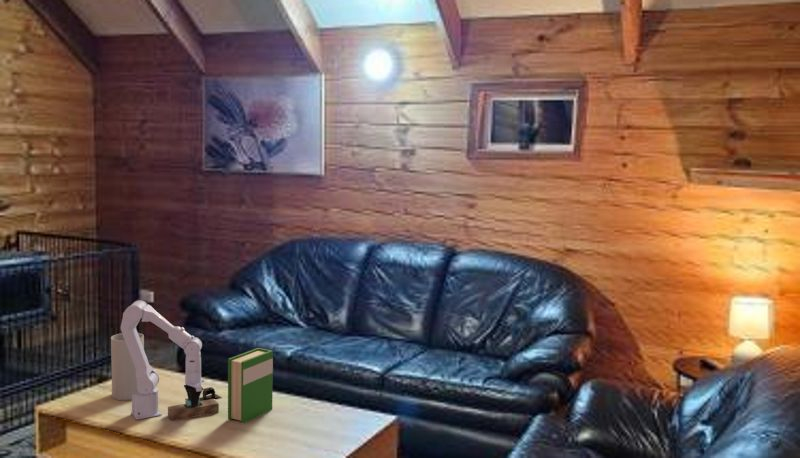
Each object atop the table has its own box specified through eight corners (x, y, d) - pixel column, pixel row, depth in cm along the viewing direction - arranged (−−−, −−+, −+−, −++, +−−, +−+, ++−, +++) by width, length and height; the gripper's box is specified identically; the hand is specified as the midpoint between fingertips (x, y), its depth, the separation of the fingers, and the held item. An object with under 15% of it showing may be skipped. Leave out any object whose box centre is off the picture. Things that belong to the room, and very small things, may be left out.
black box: (198, 405, 288) (198, 394, 288) (190, 400, 294) (190, 389, 293) (226, 398, 296) (226, 388, 296) (218, 393, 302) (218, 383, 301)
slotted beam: (172, 420, 271) (172, 411, 270) (167, 415, 276) (167, 406, 275) (218, 412, 280) (218, 403, 280) (213, 407, 285) (213, 398, 285)
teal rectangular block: (187, 415, 276) (187, 400, 275) (185, 413, 278) (185, 398, 277) (200, 412, 278) (199, 398, 277) (198, 410, 280) (197, 396, 279)
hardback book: (242, 423, 270) (243, 362, 267) (227, 419, 273) (228, 358, 270) (272, 409, 285) (272, 350, 282) (257, 405, 289) (258, 347, 286)
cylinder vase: (111, 392, 298) (110, 334, 295) (142, 388, 303) (142, 331, 300) (112, 402, 287) (111, 342, 284) (145, 398, 292) (145, 339, 289)
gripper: (209, 373, 272) (209, 408, 274) (197, 363, 284) (197, 396, 286) (191, 376, 268) (191, 411, 270) (179, 365, 280) (180, 399, 282)
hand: (193, 403), depth 277 cm, fingers closed on teal rectangular block, 2 cm apart
